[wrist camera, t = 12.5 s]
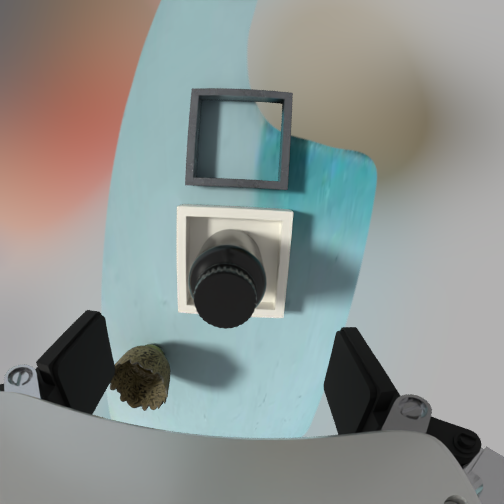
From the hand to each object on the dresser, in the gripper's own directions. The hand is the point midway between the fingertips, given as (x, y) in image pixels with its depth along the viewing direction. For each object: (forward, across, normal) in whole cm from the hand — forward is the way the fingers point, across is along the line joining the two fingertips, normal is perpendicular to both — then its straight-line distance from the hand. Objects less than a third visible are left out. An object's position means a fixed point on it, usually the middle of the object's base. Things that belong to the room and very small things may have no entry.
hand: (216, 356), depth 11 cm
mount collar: (+23, 0, -11) cm, 25 cm away
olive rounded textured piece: (+23, +11, +17) cm, 30 cm away
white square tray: (+23, 0, +3) cm, 23 cm away
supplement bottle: (+22, 0, +3) cm, 23 cm away
